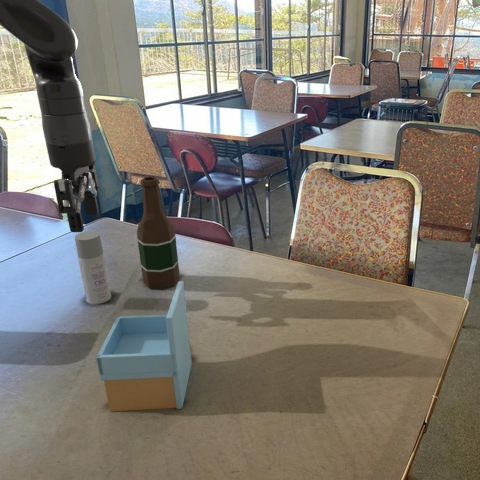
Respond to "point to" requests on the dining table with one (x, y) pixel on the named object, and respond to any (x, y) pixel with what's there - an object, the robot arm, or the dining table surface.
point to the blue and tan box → (147, 359)
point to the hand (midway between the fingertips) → (85, 222)
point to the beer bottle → (156, 240)
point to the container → (93, 267)
